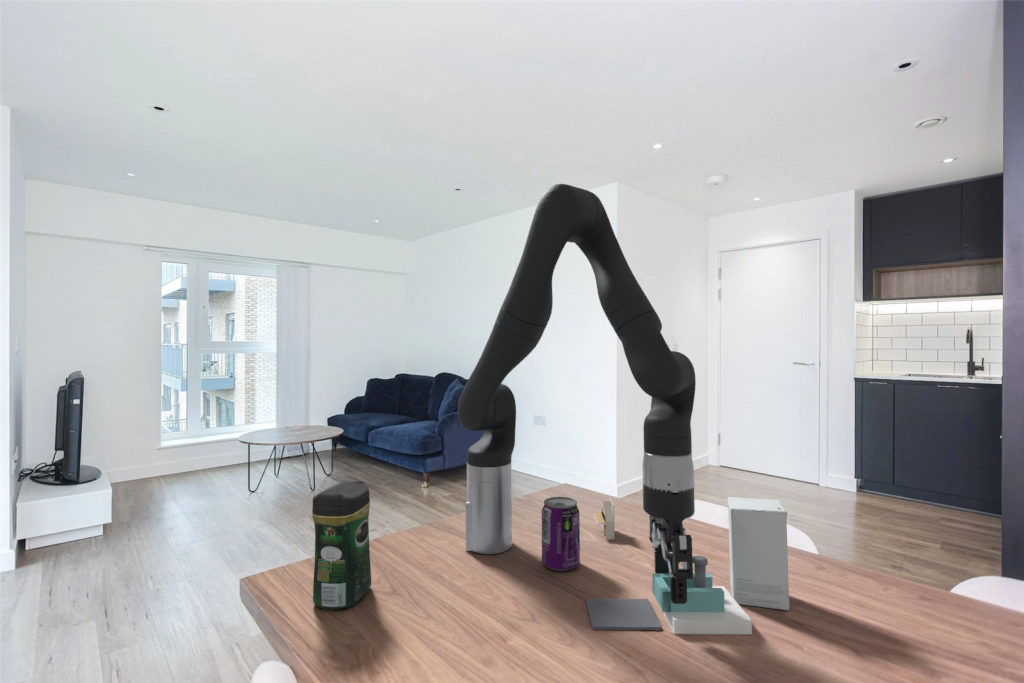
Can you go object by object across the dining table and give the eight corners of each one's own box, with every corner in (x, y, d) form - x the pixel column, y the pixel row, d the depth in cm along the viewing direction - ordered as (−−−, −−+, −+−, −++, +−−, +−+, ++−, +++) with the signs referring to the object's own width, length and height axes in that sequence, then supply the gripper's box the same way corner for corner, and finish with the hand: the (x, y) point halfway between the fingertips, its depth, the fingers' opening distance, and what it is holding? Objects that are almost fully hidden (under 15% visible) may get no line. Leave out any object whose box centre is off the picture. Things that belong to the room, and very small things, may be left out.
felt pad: (592, 629, 72) (592, 626, 72) (585, 601, 80) (585, 598, 80) (661, 629, 72) (661, 627, 72) (647, 601, 80) (647, 598, 80)
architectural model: (598, 540, 106) (598, 505, 106) (594, 528, 113) (593, 495, 113) (614, 540, 106) (614, 505, 106) (609, 528, 113) (609, 495, 113)
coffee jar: (335, 581, 88) (334, 475, 88) (377, 584, 86) (377, 477, 86) (303, 610, 78) (302, 492, 78) (350, 614, 77) (349, 494, 77)
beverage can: (578, 575, 89) (578, 508, 89) (539, 572, 91) (538, 506, 91) (581, 558, 96) (580, 496, 96) (544, 555, 98) (544, 494, 98)
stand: (674, 633, 71) (673, 573, 71) (655, 598, 81) (655, 545, 81) (751, 634, 71) (751, 574, 71) (723, 598, 81) (723, 545, 81)
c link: (662, 611, 73) (662, 591, 73) (652, 592, 79) (652, 573, 79) (724, 612, 73) (724, 591, 73) (709, 592, 79) (709, 573, 79)
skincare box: (782, 593, 82) (781, 499, 83) (790, 613, 76) (789, 512, 76) (727, 585, 85) (727, 494, 85) (731, 604, 79) (730, 506, 79)
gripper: (633, 470, 83) (634, 567, 83) (655, 495, 69) (657, 613, 69) (678, 470, 83) (680, 567, 83) (710, 495, 69) (712, 613, 69)
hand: (670, 588), depth 76 cm, fingers open, 8 cm apart
